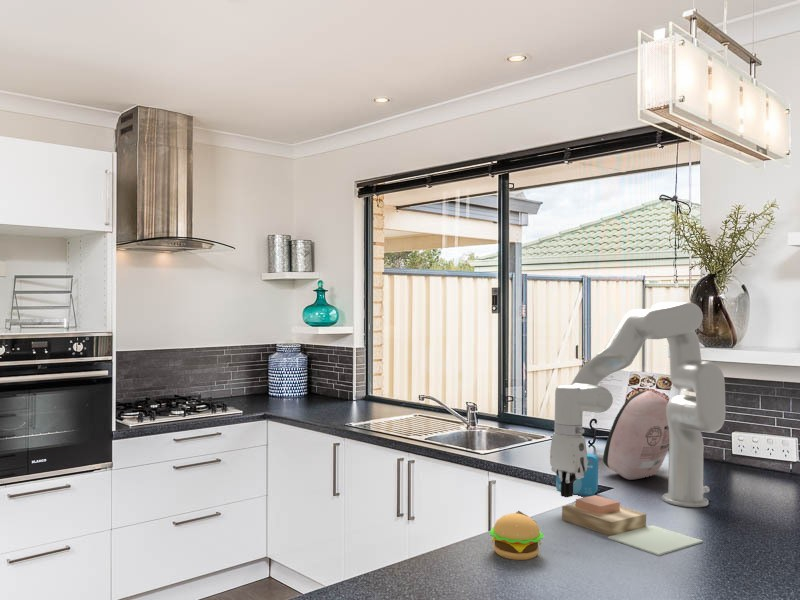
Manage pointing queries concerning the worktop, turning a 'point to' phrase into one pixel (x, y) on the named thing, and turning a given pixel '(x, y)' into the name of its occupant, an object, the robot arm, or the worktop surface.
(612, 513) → the oak board
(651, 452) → the pink rounded piece
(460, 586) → the worktop surface
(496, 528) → the hamburger
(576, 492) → the data package
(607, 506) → the terracotta coaster
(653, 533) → the sage mat
